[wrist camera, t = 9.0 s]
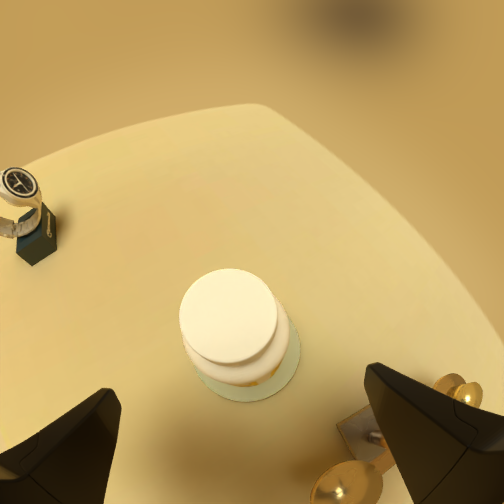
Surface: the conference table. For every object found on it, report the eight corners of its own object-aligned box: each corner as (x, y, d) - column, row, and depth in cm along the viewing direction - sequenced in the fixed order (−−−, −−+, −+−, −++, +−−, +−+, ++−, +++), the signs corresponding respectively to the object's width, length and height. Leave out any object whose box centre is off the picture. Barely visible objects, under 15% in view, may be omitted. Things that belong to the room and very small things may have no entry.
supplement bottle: (260, 303, 21) (257, 233, 12) (296, 365, 18) (324, 339, 10) (196, 335, 20) (145, 286, 11) (228, 399, 17) (196, 405, 9)
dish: (316, 373, 19) (319, 372, 18) (218, 416, 18) (216, 417, 17) (270, 286, 23) (270, 281, 22) (180, 324, 21) (176, 321, 20)
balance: (440, 412, 16) (501, 406, 9) (309, 498, 14) (332, 542, 7) (419, 367, 18) (478, 348, 11) (282, 451, 16) (294, 481, 9)
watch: (69, 242, 26) (13, 177, 16) (22, 272, 24) (-36, 221, 15) (66, 209, 28) (21, 146, 19) (23, 237, 27) (-26, 186, 17)
